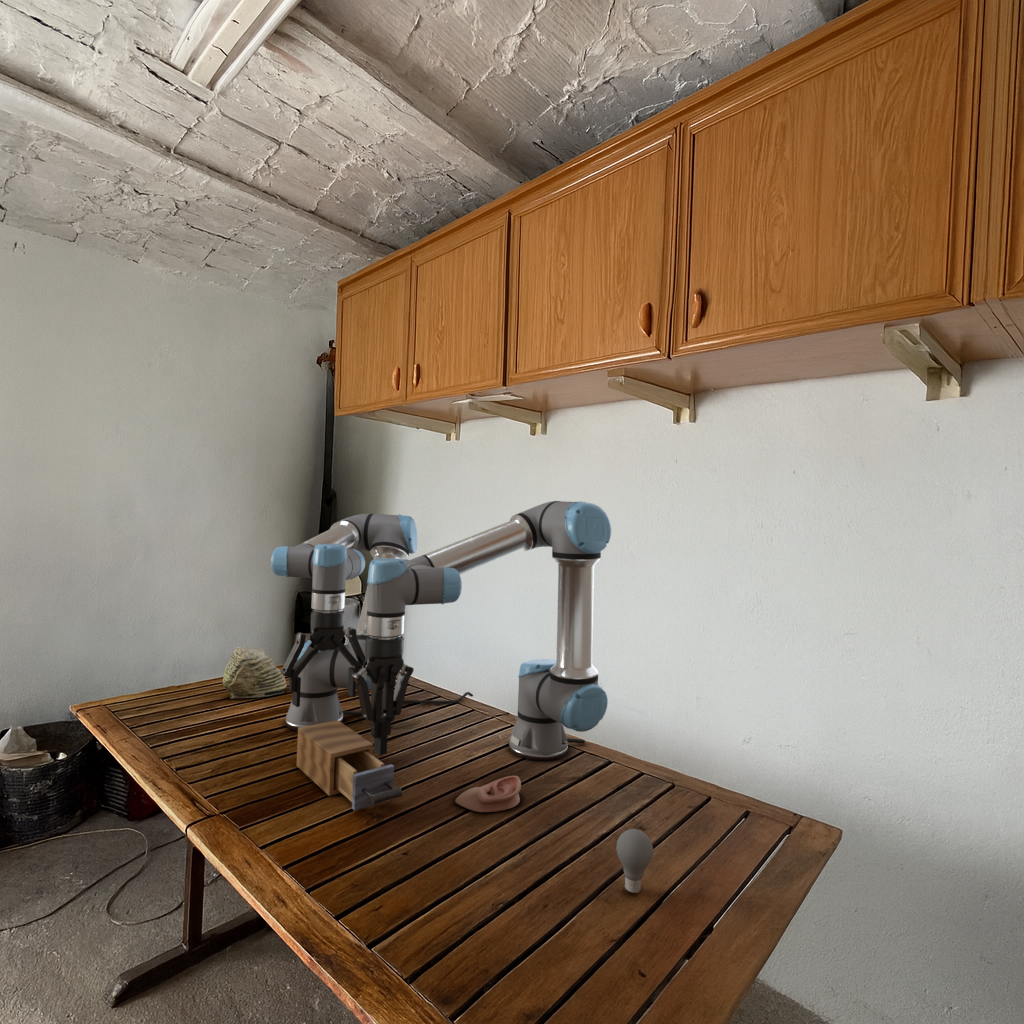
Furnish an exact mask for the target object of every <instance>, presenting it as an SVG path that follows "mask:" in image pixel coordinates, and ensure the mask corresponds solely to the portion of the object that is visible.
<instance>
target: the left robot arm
mask: <svg viewBox="0 0 1024 1024" xmlns="http://www.w3.org/2000/svg"><path fill="white" fill-rule="evenodd" d="M417 549H418V530H417V525H416V521H415V519H414V518H413V517H412V516H410V515H403V514H402V515H401V514H385V513H384V514H382V513H360V514H355V515H352V516H348V517H345V518H343V519H340V520H338V521H336V522H334V523H333V524H332V525H331V526H330V528H329V529H328V530H326V531H324V532H321V533H319V534H318V535H316V536H314V537H311V538H309V539H308V540H305V541H303V542H301V543H300V544H297V545H294V546H289V545H286V546H277V547H276V548H275V549H273V551H272V554H271V558H270V567H271V571H272V572H273V574H274V575H276V576H277V577H285V578H305V579H312V582H311V583H312V586H311V587H312V589H311V606H310V608H311V610H312V611H311V612H310V631H309V633H303V632H300V631H299V632H297V633H296V636H295V642H294V644H293V646H292V648H291V650H290V652H289V654H288V656H287V658H286V659H285V662H284V664H283V666H282V668H281V669H280V672H281V674H282V675H283V676H284V677H287V678H288V690H289V692H291V693H292V699H291V702H290V704H289V708H288V711H287V713H286V715H285V726H286V728H287V729H289V730H291V731H294V732H295V731H296V732H298V728H300V727H305V726H310V725H315V724H320V723H325V722H330V721H335V720H338V721H340V722H341V723H343V722H344V715H354V716H358V715H359V716H360V715H362V712H361V710H360V711H354V710H343V709H342V706H341V702H340V699H339V695H338V689H347V695H348V696H350V697H351V698H355V697H356V693H357V686H356V683H355V681H354V680H353V678H352V674H353V673H358V672H359V671H360V670H361V669H363V664H364V662H365V659H366V656H365V644H366V638H367V636H369V635H367V634H366V620H367V596H368V584H367V586H366V589H365V594H364V598H363V603H362V607H361V611H360V616H359V621H358V625H357V629H356V628H354V627H351V626H349V627H347V628H346V629H344V627H345V611H344V609H345V607H346V582H347V581H349V580H353V579H355V578H357V577H359V576H360V575H362V573H363V572H364V570H365V567H366V560H365V559H366V558H365V556H364V555H363V553H362V552H361V551H365V552H369V554H370V556H371V557H372V558H373V560H374V559H378V558H396V559H403V560H409V556H410V555H413V554H415V553H416V551H418V550H417ZM344 638H347V639H348V643H347V644H345V643H343V642H342V641H343V639H344ZM366 677H367V681H366V683H367V686H368V691H371V689H372V686H371V679H370V678H369V676H368V675H366ZM467 696H469V697H474V694H473V693H471V691H466V692H464V693H463V695H461V696H460V697H459V698H457V699H453V700H435V699H433V700H432V699H431V700H428V699H427V700H423V699H404V702H403V704H436V705H437V704H439V705H440V704H442V705H449V704H457V703H459V702H461V701H463V700H464V699H465V697H467Z"/></svg>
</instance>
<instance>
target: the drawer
mask: <svg viewBox="0 0 1024 1024" xmlns="http://www.w3.org/2000/svg"><path fill="white" fill-rule="evenodd" d="M394 775H395V766H394V765H393V764H392V763H390V764H387V765H385V763H384V762H382V761H381V760H380V759H379V758H377V757H375V756H374V755H371V754H370V753H368V752H367V751H366V750H364V751H359V752H355V753H351V754H347V755H343V756H339V757H335V763H334V787H335V788H336V789H338V790H339V791H340V792H341V793H340V794H341V795H343V796H344V797H345V798H347V799H348V800H349V802H351V809H352V810H353V811H354V812H356V811H358V810H363V809H365V808H368V807H373V806H375V805H378V804H381V803H385V802H389V801H391V800H393V799H396V798H399V797H402V796H403V790H402V787H400V786H398V787H395V786H394V779H395V778H394V777H395V776H394Z"/></svg>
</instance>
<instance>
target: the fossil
mask: <svg viewBox="0 0 1024 1024" xmlns="http://www.w3.org/2000/svg"><path fill="white" fill-rule="evenodd" d="M222 676H223V677H222V685H223V687H224V688H225V690H226V691H228V693H229V698H230V699H250V698H264V697H271V696H275V695H281V694H284V693H285V691H286V689H287V687H288V686H287V680H286V678H285V677H286V676H284V675H283V674H281V669H279V668H278V667H277V665H276V663H275V662H274V660H273V659H272V658H271V657H270V656H269V655H268V654H267V653H266V652H265V650H264V649H263V648H260V647H258V648H251V647H247V646H246V647H245V646H238V647H237V648H236V649H235V650H233V651H232V653H231V656H230V657H229V659H228V660H227V663H226V666H225V668H224V671H223V675H222Z"/></svg>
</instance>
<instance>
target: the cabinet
mask: <svg viewBox="0 0 1024 1024" xmlns="http://www.w3.org/2000/svg"><path fill="white" fill-rule="evenodd" d="M296 743H297V744H296V747H297V748H296V767H297V768H298V769H299V770H300V771H301V772H303V773H304V774H305V775H306V777H308V778H309V779H310V780H311V781H312V782H313V783H314V784H316V785H317V786H318V788H320V789H321V790H322V791H323V792H324V793H325V794H326V795H327V796H328V797H331V796H335V795H338V794H342V793H341V792H340V791H339V790H338V789H336V788H335V787H334V763H335V757H339V756H343V755H347V754H351V753H355V752H359V751H364V750H366V751H367V752H368V753H370V754H371V755H373V754H374V753H373V751H374V743H372V742H370V741H369V740H367V739H366V738H364V737H363V736H362V735H360V734H359V733H358V732H356V731H354V730H353V729H352V728H350V727H348V725H346V724H345V723H343V722H342V723H341V722H340V721H338V720H335V721H330V722H325V723H320V724H315V725H310V726H305V727H300V728H298V731H297V741H296ZM373 756H374V755H373Z"/></svg>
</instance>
